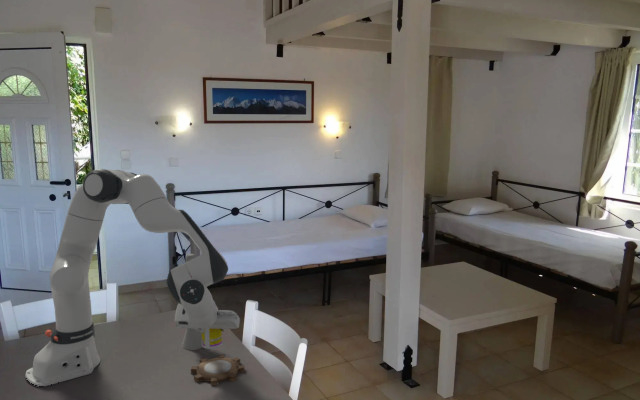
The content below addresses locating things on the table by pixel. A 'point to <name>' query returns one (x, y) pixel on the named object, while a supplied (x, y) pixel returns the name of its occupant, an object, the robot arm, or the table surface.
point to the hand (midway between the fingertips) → (211, 329)
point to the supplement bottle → (211, 338)
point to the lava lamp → (192, 335)
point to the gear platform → (217, 369)
